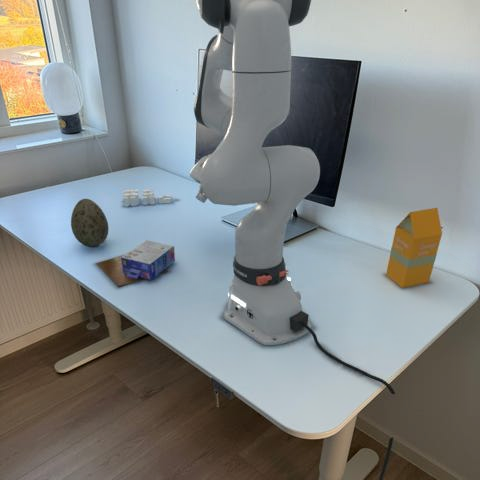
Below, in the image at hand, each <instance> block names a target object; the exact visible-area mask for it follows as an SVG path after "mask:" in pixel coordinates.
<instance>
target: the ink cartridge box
mask: <svg viewBox="0 0 480 480" xmlns="http://www.w3.org/2000/svg"><path fill="white" fill-rule="evenodd" d="M175 255H176V254H175V246H174V245H172V244H167V243H162V242H156V241H152V240H147V239H146V240H145V241H143V242H141V243H140V244H139V245H137V246H135V248H133V249H131V250H130V251H129V252H127V253H125V254H124V256H123V255H121V256H122V257H121V261H122V267H123V272H124V274H127V277H131V278H135V279H137V278H138V277H141V278H145V279H144V280H149V281H153V280H154V279H155V278H156V277H158V276H159V275H161V274H160V273H161V272H162V271H164V270H165V269H166V270H167V269H168V267H170V266H171V265H172V264H173V263H175V262H176V257H175Z"/></svg>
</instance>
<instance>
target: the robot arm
mask: <svg viewBox="0 0 480 480" xmlns="http://www.w3.org/2000/svg"><path fill="white" fill-rule="evenodd" d="M195 4H196V8H197V9H198V12H199V14H200V18H201V19H202V20H203V21H204V22H205V23H206V24H207V25H208V26H210V27H212V28H215V29H217V34H215V35H214V36H212V38H210V40H209V41H208V43H207V46H206V47H205V51H204V54H203V59H202V65H201V66H202V67H201V71H200V72H201V73H200V78H199V86H198V90H197V95H196V96H195V101H194V104H193V113H194V118H195V120H196V122H197V123H198V124H200V125H201V126H204V127H206V128H207V129H210V130H211V131H213V132H214V133H216V134H218V135H219V136H221V137H222V140H221V141H220V143H219V144H218V145H217V147H216V149H215V150H214V151H213V152H212V153H209V154H207V155H205V156H203V157H201V158H200V159H199V160H198V161H197V162H196V164H195V165H194V166H193V168H191V170H190V171H189V177H190V178H191V179H192V180H194V182H196V183H198V184H200V185H199V188H198V193H197V194H196V195H195V199H196V200H197V201H199V202H201V203H203V204H205V203H206V201H207V200H208V201H210V202H211V203H212V204H214V205H219V206H232V207H236V206H245V205H252V204H256V205H255V207H254V208H253V209H252V210H251V211H250V212H249V213H247V214H245V216H243V217H242V218H241V219H240V220H239V221H238V223H237V225H236V228H235V229H234V230H235V231H234V250H235V252H234V256H233V261H232V268H233V278H232V281H231V282H230V285H229V289H228V293H227V296H228V301H227V309H226V310H225V311H224V313H223V319H224V320H225V321H226V322H228V323H230V324H232V325H233V326H234V327H235V328H237V329H239V330H240V331H242V332H243V333H244V334H246V335H247V336H248V337H250V338H252V339H253V340H254V341H256V342H258V343H259V344H260V345H262V346H277V345H284V344H286V343H290V342H293V341H296V340H298V339H300V338H302V337H304V336H306V334H308V333H310V334H311V336H312V337H313V340H314V343H315V345H316V346H317V348H318V349H319V350H320V351H321V352H322V353H323V354H325V356H328V357H329V358H330V359H332V360H334V361H335V362H337V363H338V364H340V365H342V366H344V367H346V368H348V369H350V370H352V371H354V372H357V373H359V374H361V375H363V376H365V377H367V378H369V379H371V380H374V381H376V382H378V383H381V384H382V385H384V386H385V387H386V388H387V389H388V391H389V392H390V394H392V395H396V392H395V391H394V389H393V387H392V386H391V384H390V383H388V382H387V381H386V380H384V379H383V378H381V377H378V376H376V375H373V374H370V373H368V372H366V371H364V370H363V369H360V368H358V367H356V366H354V365H351V364H349V363H348V362H345V361H344V360H342V359H340V358H338V357H337V356H335V355H333V354H332V353H330V352H329V351H327V350H326V349H325V348H324V347H323V346H322V344H320V342H319V339H318V337H317V334H316V332H314V330H313V329H312V322H311V321H310V320H309V313H307V312H305V311H303V306H302V303H301V299H302V295H301V293H300V291H295V289H294V287H293V286H292V281H291V279H292V278H291V277H287V276H288V275H289V273H288V272H289V269H287V268H286V262H285V258H284V255H283V254H284V245H285V244H284V243H285V236H286V231H287V227H288V223H289V222H290V219H291V217H292V216H293V214H294V212H295V210H296V208H298V206H299V204H301V202H302V201H303V200H304V199H305V198H306V197H307V196H309V195H310V194H311V193H313V191H314V190H315V189H316V187H317V186H318V183H319V180H320V176H321V165H320V162H319V159H318V157H317V155H316V153H315V152H314V151H313V150H312V149H311V148H309V147H305V146H299V145H291V144H290V145H289V144H286V145H275V146H263V145H264V142H265V139H266V138H267V137H268V135H269V134H270V133H271V132H272V131H274V130H275V129H276V128H278V127H279V126H281V125H282V124H283V123H284V122H285V121H286V119H287V117H288V116H289V112H290V110H291V109H290V108H291V85H292V83H291V81H292V44H291V43H292V42H291V31H290V27H293V26H297V25H299V24H301V23H302V22H304V20H305V19H306V17H307V16H308V14H309V11H310V7H311V4H312V0H195ZM224 71H227V72H228V71H229V72H231V75H232V77H231V78H232V80H231V81H232V91H231V92H232V93H231V96H232V97H230V96H228V95H227V94H226V93H225V92H224V91H223V90H222V87H221V82H222V77H223V73H224ZM393 441H394V436H392V437H390V438H389V439H388V444H387V450H386V454H385V457H384V460H383V465H382V469H381V471H380V475H379V478H378V480H383V479H384V476H385V473H386V470H387V467H388V463H389V459H390V455H391V452H392V447H393V443H394V442H393Z"/></svg>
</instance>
